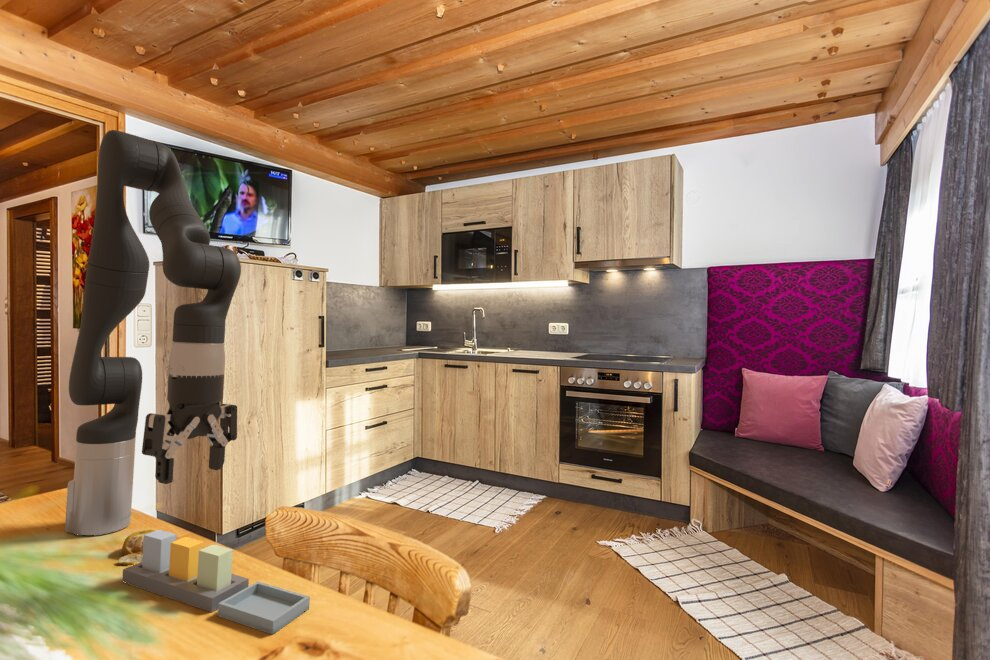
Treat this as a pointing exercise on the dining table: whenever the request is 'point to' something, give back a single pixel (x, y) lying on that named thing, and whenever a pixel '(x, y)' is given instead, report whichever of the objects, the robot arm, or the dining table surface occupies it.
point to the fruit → (133, 548)
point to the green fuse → (214, 567)
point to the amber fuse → (184, 558)
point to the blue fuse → (157, 550)
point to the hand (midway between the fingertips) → (191, 475)
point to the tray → (263, 607)
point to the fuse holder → (182, 587)
